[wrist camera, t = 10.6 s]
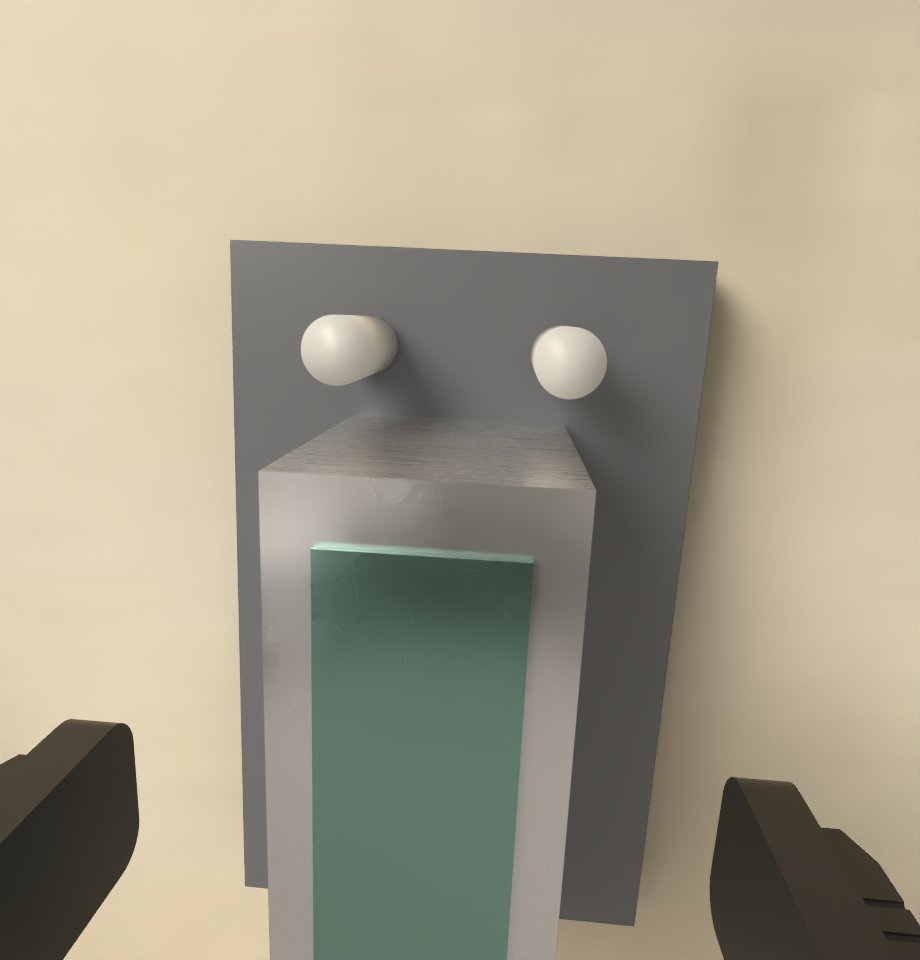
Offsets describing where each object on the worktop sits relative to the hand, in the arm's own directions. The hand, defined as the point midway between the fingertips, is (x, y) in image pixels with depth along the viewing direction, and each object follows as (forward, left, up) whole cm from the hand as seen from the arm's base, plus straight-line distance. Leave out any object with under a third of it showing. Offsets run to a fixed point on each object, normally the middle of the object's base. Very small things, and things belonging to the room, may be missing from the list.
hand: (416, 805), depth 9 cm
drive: (0, 0, -7) cm, 7 cm away
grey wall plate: (0, 0, -8) cm, 8 cm away
